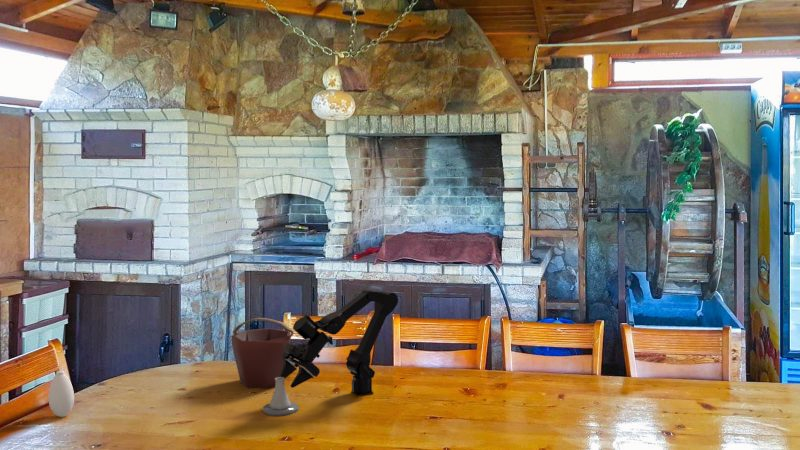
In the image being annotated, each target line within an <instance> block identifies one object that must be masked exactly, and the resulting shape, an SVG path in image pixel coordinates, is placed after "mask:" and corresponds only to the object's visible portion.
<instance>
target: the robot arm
mask: <svg viewBox="0 0 800 450" xmlns="http://www.w3.org/2000/svg"><path fill="white" fill-rule="evenodd" d="M371 302H373V303H374V304H373V307H374V310H373V314H372V316H371V318H370V321H369V323H368V325H367V327H366V329H365V332H364V334H363V337H362V339H361V341H360V342H359V344H358V346H357V348H356V349H350V350H349V352H348V353H349V354H348V356H347V357H346V358H345V359H346V363H345V365H346V368H347V370H348V371H349V373H350V375H352V380H351V392H353V394H354V395H356V397H358V396H366V395H372V394H374V391H373V381H372V379H374V377H375V374H376V372H375V371H374V369H373V368H371V366H370V364H371V361H372V360H371V353H372V350H373V348H374V345H375V343H376V341H377V339H378V337H379V335H380V332H381V330H382V328H383V325H384V323H385V321H386V319H387V317H388V316H390V314H391V313H393V312H394V310H395V309H396V307H397V306H398V304H399V297H398V295H397V294H396V293H395V292H391V291H387V290H381V291H374V290H371V289H368V288H366V289H363V290H362V291H361V292H360V293H359V294H358V295H356V296H355V297H354V298H352V299H351V300H349V302H347V303H346V304H345V305H343V306H342V307H341V308H339V309H337V310H336V311H332V312H330V313H328V314H326V315H324V316H322V317H321V318H320V319H319V320H315V321H314V320H313V319H312V318H311V317H310V315H308V314H304V316H303V317H300V318H298V319H297V320H295V322H294V323H293V326H292V330H293V331H295V332H296V333H297V334H298V335H299V336H300V337H302V339H304V340H307V342H306V343H298V342H297V343H296V344H294V343H291V342H290V343H289V342H287V344H286V346H285V349H284V351H287V352H285V353H284V354H283V355H282V357H283V361H284V366H283V369H282V372H281V375H280V377H284V378H285V379H286V378H288V377H289V376H290V375H292V374H293V373H294V372H295V371H297V370H298V373H297V374H296V375H295V377H294V379H293V380H292V382H291V384H290V388H292V389H293V388H296V387H297V386H299V385H301V384H303V383H305V382H306V381H307V382H308V381H309V380H311V379H314V377H315V378H317V377H318V376H319V374H320V373H321V372H320V368H319V367H318V366H317V365H315V364H314V363H313V362H314V361H315V359H316V358H317V359H319V358H320V357H321V355H320V353H321V352H322V350H323V349H324V348H325V346H326V345H327V344H328V345H331V346H333V345H334V343H333V335H337V334H339V332H340V331H341V330H342V329H343V328H344V327H345V325H346V323H347V321H348V320H349V319H351V318H352V317H353V316H354V315H356V314H358V312H360V311H361V310H362V309H363V308H365V307H366V306H367V305H369V304H370V303H371ZM327 334H329V335H327ZM330 335H332V336H330ZM284 358H285V359H284Z"/></svg>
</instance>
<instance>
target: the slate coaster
mask: <svg viewBox="0 0 800 450" xmlns="http://www.w3.org/2000/svg"><path fill="white" fill-rule="evenodd" d="M290 403H291V405H292V406H290V407H289V408H286V409H281V410H277V409H272V408H270V407H269V405H270V402H269V403H266V404H265V405H264V406H263V407H262V412H263V413H264V415H268V416H272V417H273V416H274V417H281V416H282V417H283V416H289V415H292V414H295V413H296V412H298V411H299V405H298V404H297V402H293V401H290Z"/></svg>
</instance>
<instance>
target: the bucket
mask: <svg viewBox="0 0 800 450" xmlns="http://www.w3.org/2000/svg"><path fill="white" fill-rule="evenodd" d="M256 321H260V322H266V323H269V324H274V325H277V326H279V327H280V328H282V329H278V328H272V327H271V328H258V329H257V328H256V329H246V330H242V331H241V332H239V330H240V329H241V328H242V327H243V326H244V325H246V324H247V323H251V322H256ZM232 334H233V335H231V347H232V351H233V355H234V359H235V364H236V369H237V374H238V377H239V382H240V384H241V385H242V386H244V387H245V388H247V389H258V388H259V390H260V389H264V390H267V389H271V388H275V386H276V380H275V378H277V377H280V375H281V372H282V369H283V366H284V361H283V357H282V355H283V354H284V353H285V352H287V351H284V349H285V346H286V344H287V342H289V343H291V340H292V339H291V338H292V336H293V335H294V329H293V328H291V327H290V326H288V325H287V324H286V323H284V322H283V321H279V320H275V319H273V318H272V319H271V318H269V317H268V318H267V317H254V318H251V319H249V320H246V321H244V322H242V323H240V324H238V325H237V326H236V327H235V328H234V329H233V330H232ZM284 359H285V358H284Z"/></svg>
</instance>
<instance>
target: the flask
mask: <svg viewBox="0 0 800 450" xmlns="http://www.w3.org/2000/svg"><path fill="white" fill-rule="evenodd" d="M275 380H276V386H275V387H274V390H273V394H272V397H271V400H270V402H269V403H270V405H269V407H270V408H272V409H277V410H281V409H286V408H289V407H290V406H292V405H291V403H290V402H291V401H290V398H289V396H288V393H287V391H286V387H285V381H286V378H284V377H277V378H275Z"/></svg>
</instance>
